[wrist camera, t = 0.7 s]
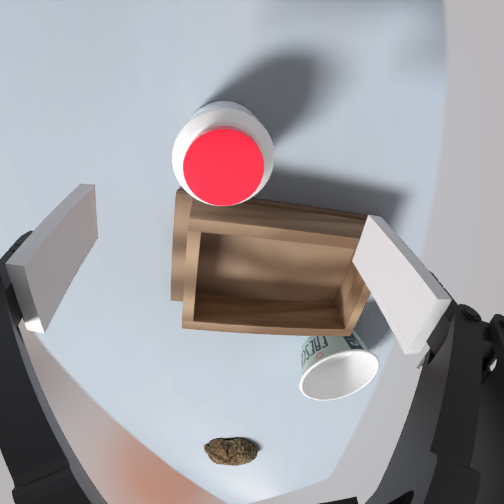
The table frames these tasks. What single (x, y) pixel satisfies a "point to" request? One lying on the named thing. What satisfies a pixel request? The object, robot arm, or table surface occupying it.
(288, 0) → the table surface
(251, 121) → the pill bottle
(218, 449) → the bread roll
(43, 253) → the robot arm
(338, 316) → the tray
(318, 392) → the food container
